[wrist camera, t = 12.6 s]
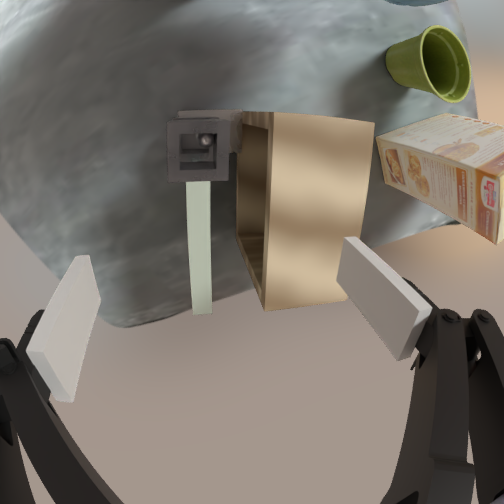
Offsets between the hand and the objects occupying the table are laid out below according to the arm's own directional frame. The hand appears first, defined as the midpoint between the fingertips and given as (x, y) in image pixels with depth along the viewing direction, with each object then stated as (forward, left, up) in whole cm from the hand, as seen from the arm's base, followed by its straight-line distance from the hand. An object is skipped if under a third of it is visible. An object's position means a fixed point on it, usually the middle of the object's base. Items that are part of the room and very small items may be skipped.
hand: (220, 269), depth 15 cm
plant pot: (-16, +25, -20) cm, 36 cm away
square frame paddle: (+1, -1, -17) cm, 17 cm away
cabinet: (0, +5, -20) cm, 20 cm away
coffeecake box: (-5, +29, -20) cm, 36 cm away
